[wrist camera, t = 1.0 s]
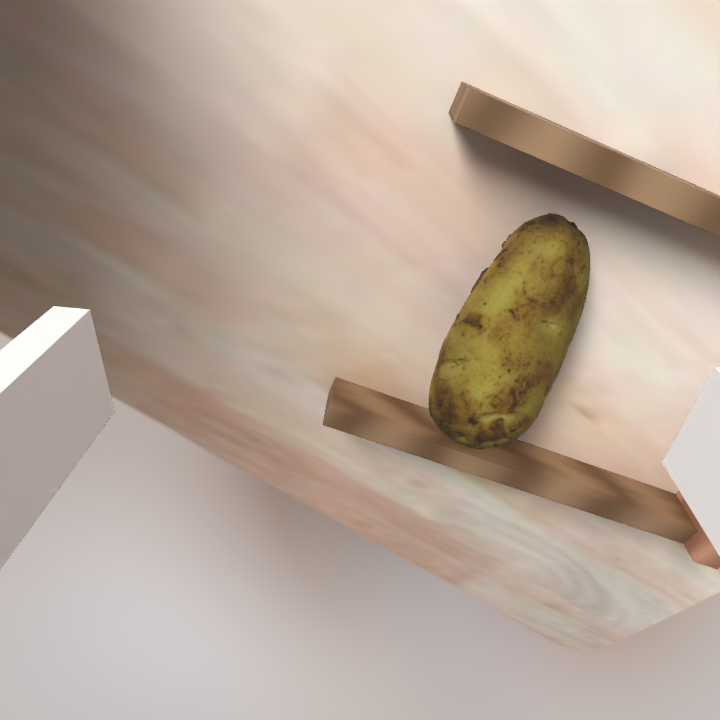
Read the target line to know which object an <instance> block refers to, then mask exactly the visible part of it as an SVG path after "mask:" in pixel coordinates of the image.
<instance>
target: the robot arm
mask: <svg viewBox="0 0 720 720" xmlns="http://www.w3.org/2000/svg"><path fill="white" fill-rule="evenodd" d="M114 412H115V411H114V407H113V403H112V399H111V394H110V390H109V386H108V382H107V378H106V374H105V370H104V365H103V361H102V357H101V353H100V349H99V345H98V341H97V336H96V332H95V328H94V324H93V320H92V316H91V312H90V309H80V308H69V307H58V306H53V307H52V308H51V309H50V310H48V311H47V312H46V313H45V314H44V315H42V316H41V317H40V318H39V319H38V320H36V321H35V322H34V323H33V324H31V325H30V326H29V327H28V328H27V329H25V330H24V331H23V332H22V333H21V334H19V335H18V336H17V337H16V338H15V339H13V340H12V341H11V342H10V343H9V344H7V345H6V346H5V347H4V348H2V349H1V350H0V570H1V568H2V567H3V566H4V564H5V563H6V561H7V560H8V559H9V557H10V556H11V554H12V553H13V552H14V550H15V549H16V547H17V546H18V545H19V543H20V542H21V541H22V539H23V538H24V536H25V535H26V534H27V532H28V531H29V529H30V528H31V526H32V525H33V524H34V522H35V521H36V520H37V518H38V517H39V516H40V514H41V513H42V511H43V510H44V509H45V507H46V506H47V504H48V503H49V502H50V500H51V499H52V498H53V496H54V495H55V493H56V492H57V491H58V489H59V488H60V486H61V485H62V484H63V482H64V481H65V480H66V478H67V477H68V475H69V474H70V473H71V471H72V470H73V469H74V467H75V465H76V464H77V463H78V462H79V460H80V459H81V457H82V456H83V455H84V453H85V452H86V451H87V449H88V448H89V446H90V445H91V444H92V442H93V441H94V439H95V438H96V437H97V435H98V434H99V433H100V431H101V430H102V428H103V427H104V426H105V424H106V423H107V421H108V420H109V419H110V417H111V416H112V414H113V413H114ZM662 463H663V465H664V467H665V468H666V470H667V472H668V473H669V475H670V476H671V478H672V480H673V481H674V483H675V485H676V486H677V488H678V489H679V491H680V493H681V494H682V496H683V498H684V499H685V501H686V502H687V504H688V506H689V507H690V509H691V511H692V512H693V514H694V515H695V517H696V519H697V520H698V522H699V524H700V525H701V527H702V528H703V530H704V532H705V533H706V535H707V537H708V538H709V540H710V542H711V543H712V545H713V546H714V548H715V550H716V551H717V553H718V555H719V556H720V368H719V367H714V369H713V371H712V372H711V374H710V376H709V378H708V380H707V382H706V383H705V385H704V387H703V389H702V391H701V393H700V394H699V396H698V398H697V400H696V402H695V403H694V405H693V407H692V409H691V411H690V413H689V414H688V416H687V418H686V420H685V422H684V423H683V425H682V427H681V429H680V431H679V433H678V434H677V436H676V438H675V440H674V442H673V444H672V445H671V447H670V449H669V451H668V453H667V454H666V456H665V458H664V460H663V462H662Z"/></svg>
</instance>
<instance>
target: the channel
mask: <svg viewBox="0 0 720 720" xmlns="http://www.w3.org/2000/svg"><path fill="white" fill-rule="evenodd" d="M449 114H450V115H451V117H452V119H453V120H454V122H455V123H457V124H460V125H462V126H464V127H467V128H469V129H471V130H474V131H476V132H478V133H481V134H483V135H485V136H488V137H490V138H492V139H494V140H497V141H499V142H501V143H504V144H506V145H508V146H511V147H513V148H515V149H518V150H520V151H522V152H525V153H527V154H529V155H532V156H534V157H536V158H539V159H541V160H543V161H546V162H548V163H550V164H553V165H555V166H557V167H560V168H562V169H564V170H566V171H569V172H571V173H573V174H576V175H578V176H580V177H583V178H585V179H587V180H590V181H592V182H594V183H597V184H599V185H601V186H604V187H606V188H608V189H611V190H613V191H615V192H618V193H620V194H622V195H625V196H627V197H629V198H631V199H634V200H636V201H638V202H641V203H643V204H645V205H648V206H650V207H652V208H655V209H657V210H659V211H662V212H664V213H666V214H669V215H671V216H673V217H676V218H678V219H680V220H683V221H685V222H687V223H690V224H692V225H694V226H696V227H699V228H701V229H703V230H706V231H708V232H710V233H713V234H715V235H717V236H720V196H719V195H716V194H714V193H712V192H710V191H707V190H705V189H703V188H701V187H698V186H696V185H694V184H692V183H689V182H687V181H685V180H683V179H680V178H678V177H676V176H674V175H671V174H669V173H667V172H665V171H662V170H660V169H658V168H656V167H653V166H651V165H649V164H647V163H644V162H642V161H640V160H638V159H635V158H633V157H631V156H629V155H626V154H624V153H622V152H620V151H617V150H615V149H613V148H610V147H608V146H606V145H604V144H601V143H599V142H597V141H595V140H592V139H590V138H588V137H586V136H583V135H581V134H579V133H577V132H574V131H572V130H570V129H568V128H565V127H563V126H561V125H559V124H556V123H554V122H552V121H550V120H547V119H545V118H543V117H541V116H538V115H536V114H534V113H532V112H529V111H527V110H525V109H523V108H520V107H518V106H516V105H514V104H511V103H509V102H507V101H505V100H502V99H500V98H498V97H496V96H493V95H491V94H489V93H487V92H484V91H482V90H480V89H477V88H475V87H473V86H471V85H468V84H466V83H464V82H462V83H461V85H460V87H459V90H458V92H457V94H456V97H455V99H454V101H453V104H452V106H451V108H450V111H449ZM323 425H325V426H328V427H331V428H334V429H337V430H340V431H343V432H346V433H349V434H352V435H355V436H358V437H361V438H364V439H367V440H370V441H373V442H376V443H379V444H382V445H386V446H389V447H392V448H395V449H398V450H401V451H404V452H407V453H410V454H413V455H416V456H419V457H422V458H425V459H428V460H431V461H434V462H437V463H440V464H443V465H446V466H449V467H452V468H455V469H458V470H461V471H464V472H468V473H471V474H474V475H477V476H480V477H483V478H486V479H489V480H492V481H495V482H498V483H501V484H504V485H507V486H510V487H513V488H516V489H519V490H522V491H525V492H528V493H531V494H534V495H537V496H540V497H543V498H546V499H550V500H553V501H556V502H559V503H562V504H565V505H568V506H571V507H574V508H577V509H580V510H583V511H586V512H589V513H592V514H595V515H598V516H601V517H604V518H607V519H610V520H613V521H616V522H619V523H622V524H625V525H628V526H632V527H635V528H638V529H641V530H644V531H647V532H650V533H653V534H656V535H659V536H662V537H665V538H668V539H671V540H674V541H677V542H680V543H683V544H684V545H685V547H686V549H687V550H688V552H689V554H690V556H691V558H692V559H693V561H694V562H697V563H700V564H703V565H706V566H709V567H712V568H715V569H718V568H719V567H720V556H719V555H718V553H717V551H716V550H715V548H714V546H713V545H712V543H711V542H710V540H709V538H708V537H707V535H706V533H705V532H704V530H703V528H702V527H701V525H700V524H699V522H698V520H697V519H696V517H695V515H694V514H693V512H692V511H691V509H690V507H689V506H688V504H687V502H686V501H685V499H684V498H683V496H682V494H681V493H680V491H679V492H678V493H677V494H673V493H670V492H667V491H665V490H662V489H659V488H656V487H653V486H650V485H647V484H644V483H641V482H638V481H635V480H633V479H630V478H627V477H624V476H621V475H618V474H615V473H612V472H609V471H606V470H604V469H601V468H598V467H595V466H592V465H589V464H586V463H583V462H580V461H577V460H574V459H572V458H569V457H566V456H563V455H560V454H557V453H554V452H551V451H548V450H545V449H542V448H540V447H537V446H534V445H531V444H528V443H525V442H522V441H519V440H516V439H515V440H513V441H512V442H510V443H508V444H505V445H502V446H500V447H496V448H485V449H475V448H469V447H466V446H463V445H461V444H459V443H457V442H456V441H454V440H453V439H451V438H450V437H448V436H447V435H445V434H444V433H443V432H442V431H441V430H440V429H439V428H438V427H437V426H436V424H435V423H434V421H433V419H432V417H430V413H429V409H426V408H423V407H420V406H417V405H414V404H412V403H409V402H406V401H403V400H400V399H397V398H394V397H391V396H388V395H385V394H383V393H380V392H377V391H374V390H371V389H368V388H365V387H362V386H359V385H356V384H353V383H351V382H348V381H345V380H342V379H339V378H335V380H334V382H333V385H332V387H331V389H330V392H329V395H328V400H327V405H326V410H325V415H324V420H323Z"/></svg>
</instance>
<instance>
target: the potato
mask: <svg viewBox="0 0 720 720" xmlns="http://www.w3.org/2000/svg"><path fill="white" fill-rule="evenodd" d="M589 274H590V252H589V247H588V242H587V239H586V237H585V235H584V234H583V233H582V232H581V231H580V230H578V228H577V226H576V225H575V223H574V222H569V221H568V220H567V219H566V218H564V217H563V216H560V215H557V214H551V213H549V214H547V215H543V216H540V217H537V218H534V219H532V220H529V221H528V222H525V223H524V224H523V225H521V226H520V227H519V228H518V229H517V230H515V231H514V232H513V233H512V234H511V235H509V236H508V238H507V240H506V241H504V243H503V244H502V250H501V252H500V253H499V254H498V256H497V257H496V258H495V259H494V261H493V263H492V264H491V266H490V267H489V268H486V269H485V270H484V271H482V273H481V275H480V277H479V278H478V280H477V282H476V283H475V285H474V286H473V288H472V291H471V294H470V296H469V297H468V299H467V301H466V302H465V304H464V306H463V307H462V309H461V311H460V312H459V314H458V315H457V317H456V320H455V322H454V324H453V325H452V327H451V329H450V331H449V333H448V335H447V337H446V338H445V340H444V342H443V345H442V347H441V350H440V354H439V358H438V362H437V364H436V367H435V371H434V374H433V377H432V381H431V386H430V393H429V413H430V417H432V419H433V421H434V423H435V424H436V426H437V427H438V428H439V429H440V430H441V431H442V432H443V433H444V434H445V435H447V436H448V437H450V438H451V439H453V440H454V441H456V442H457V443H459V444H461V445H463V446H466V447H469V448H475V449H485V448H496V447H500V446H502V445H505V444H508V443H510V442H512V441H513V440H515V439H516V438H517V437H519V436H520V435H521V434H522V433H524V432H525V431H526V430H527V429H528V428H529V427H530V426H531V425H532V423H533V422H534V421H535V419H536V417H537V416H538V414H539V412H540V410H541V407H542V405H543V402H544V400H545V397H546V396H547V395H548V393H549V391H550V389H551V387H552V385H553V383H554V381H555V379H556V377H557V375H558V373H559V370H560V368H561V365H562V362H563V360H564V357H565V354H566V352H567V349H568V347H569V344H570V342H571V340H572V338H573V336H574V333H575V331H576V327H577V325H578V322H579V319H580V316H581V314H582V310H583V307H584V303H585V299H586V295H587V290H588V286H589Z"/></svg>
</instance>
